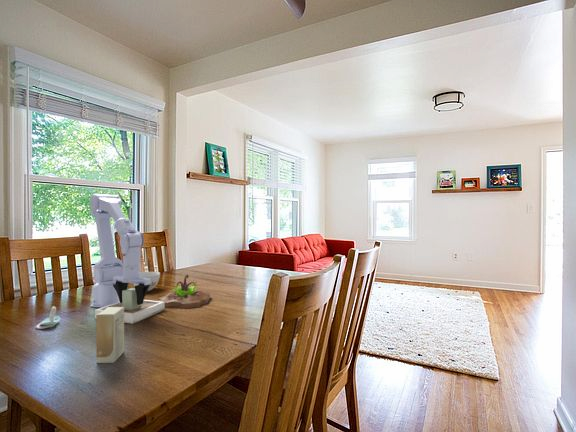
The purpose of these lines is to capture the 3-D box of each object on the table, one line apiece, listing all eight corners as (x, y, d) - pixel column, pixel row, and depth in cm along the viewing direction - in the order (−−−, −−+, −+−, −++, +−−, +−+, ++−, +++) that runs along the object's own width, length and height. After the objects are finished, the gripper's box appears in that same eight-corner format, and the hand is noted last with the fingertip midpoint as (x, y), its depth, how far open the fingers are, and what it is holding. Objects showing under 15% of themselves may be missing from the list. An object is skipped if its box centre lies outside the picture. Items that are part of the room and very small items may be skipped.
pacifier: (33, 331, 99) (56, 328, 101) (32, 311, 98) (55, 308, 101) (40, 324, 105) (61, 321, 108) (39, 305, 105) (61, 302, 108)
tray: (94, 318, 111) (95, 309, 111) (129, 305, 126) (129, 298, 126) (133, 323, 106) (133, 314, 106) (164, 309, 121) (164, 301, 121)
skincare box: (107, 352, 84) (107, 306, 84) (124, 352, 85) (125, 306, 85) (95, 364, 78) (95, 314, 78) (113, 363, 78) (113, 313, 78)
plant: (216, 297, 142) (216, 271, 142) (198, 310, 123) (199, 281, 123) (174, 295, 145) (174, 270, 145) (150, 307, 125) (150, 279, 125)
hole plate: (99, 315, 111) (99, 311, 111) (130, 304, 125) (130, 300, 125) (132, 319, 107) (132, 315, 107) (160, 308, 121) (160, 303, 121)
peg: (122, 313, 114) (122, 290, 114) (130, 309, 118) (130, 288, 118) (131, 314, 113) (131, 291, 113) (139, 310, 117) (139, 289, 117)
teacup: (161, 291, 149) (161, 274, 149) (131, 294, 143) (131, 276, 143) (157, 284, 162) (157, 269, 162) (130, 287, 156) (130, 271, 156)
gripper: (106, 266, 114) (106, 304, 114) (140, 268, 110) (139, 308, 110) (122, 263, 121) (121, 299, 121) (154, 265, 117) (153, 302, 117)
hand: (131, 303), depth 116 cm, fingers open, 7 cm apart
